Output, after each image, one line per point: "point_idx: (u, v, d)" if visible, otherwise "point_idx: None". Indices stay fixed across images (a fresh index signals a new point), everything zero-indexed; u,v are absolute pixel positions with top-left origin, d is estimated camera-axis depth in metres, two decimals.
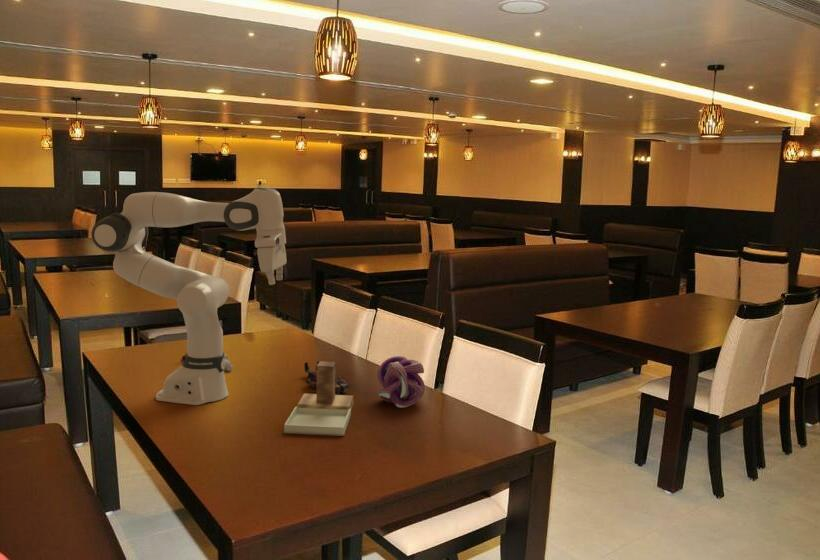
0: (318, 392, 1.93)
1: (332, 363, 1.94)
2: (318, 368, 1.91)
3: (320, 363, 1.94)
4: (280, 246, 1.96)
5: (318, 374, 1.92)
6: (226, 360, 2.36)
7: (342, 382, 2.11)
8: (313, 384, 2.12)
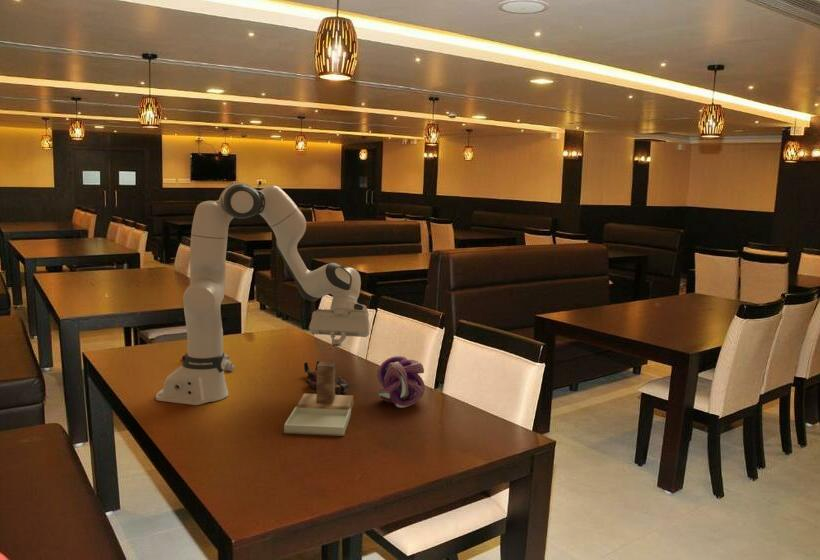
0: (318, 392, 1.93)
1: (332, 363, 1.94)
2: (318, 368, 1.91)
3: (320, 363, 1.94)
4: None
5: (318, 374, 1.92)
6: (227, 360, 2.36)
7: (342, 382, 2.11)
8: (313, 384, 2.12)
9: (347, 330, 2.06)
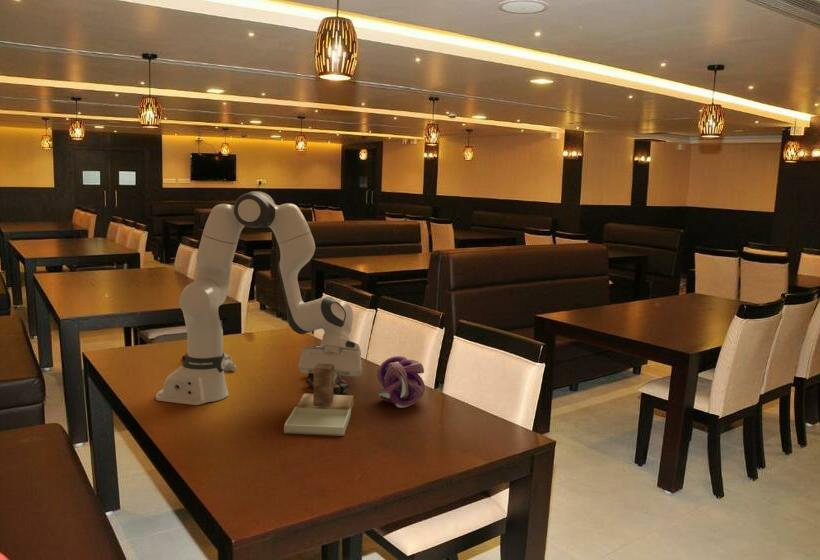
0: (315, 394, 1.90)
1: (330, 366, 1.91)
2: (315, 370, 1.89)
3: (318, 365, 1.92)
4: None
5: (315, 376, 1.89)
6: (229, 360, 2.35)
7: (342, 382, 2.11)
8: (313, 384, 2.12)
9: (338, 369, 1.97)
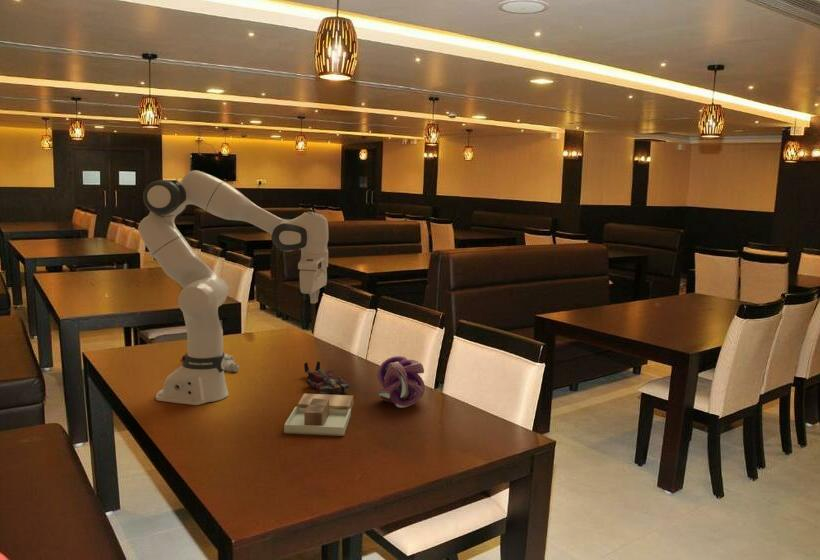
0: None
1: (319, 420, 1.78)
2: None
3: (306, 420, 1.78)
4: (322, 269, 2.04)
5: None
6: (231, 361, 2.35)
7: (342, 382, 2.11)
8: (313, 384, 2.11)
9: None
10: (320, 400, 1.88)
